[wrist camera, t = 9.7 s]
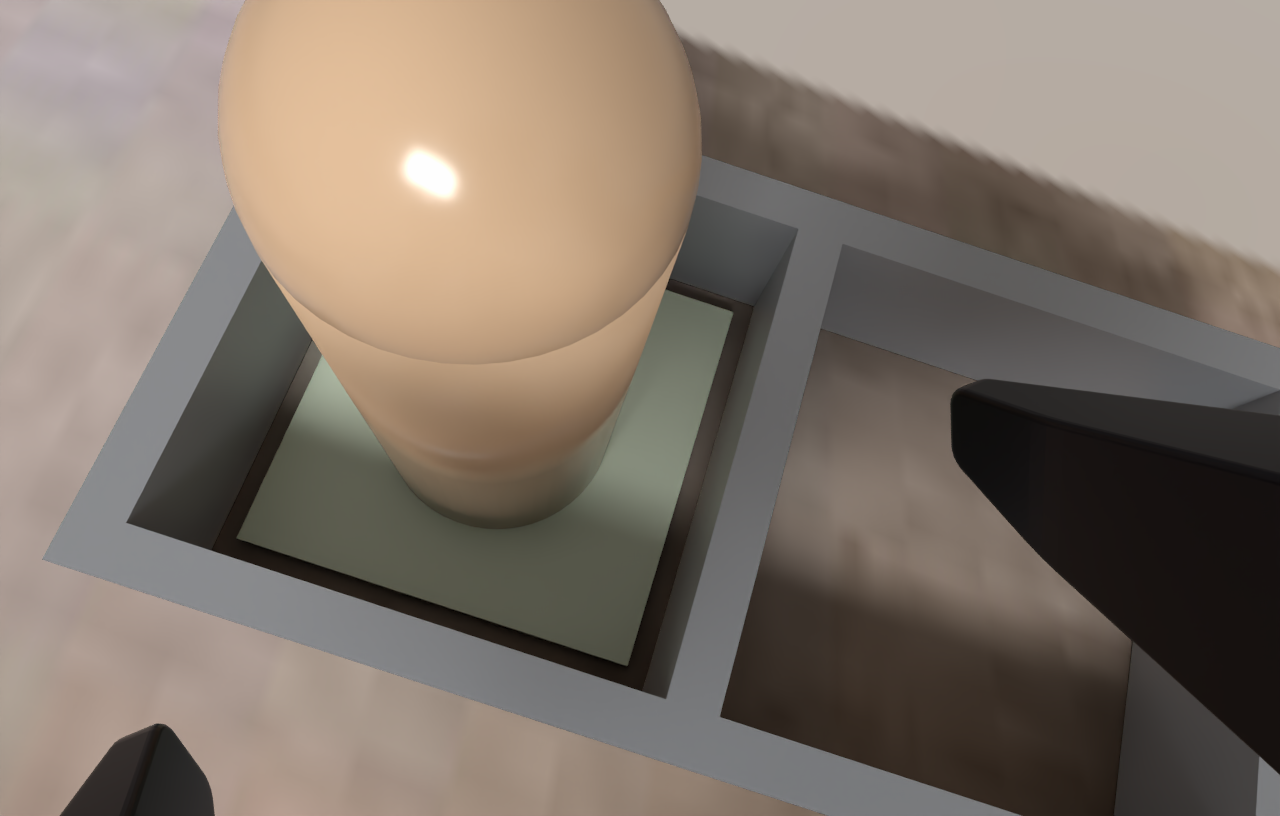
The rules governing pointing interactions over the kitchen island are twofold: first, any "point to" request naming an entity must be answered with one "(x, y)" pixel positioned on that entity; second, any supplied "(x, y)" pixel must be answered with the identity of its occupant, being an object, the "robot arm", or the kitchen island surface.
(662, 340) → the carton frame
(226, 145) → the beige rounded cylinder
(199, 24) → the kitchen island surface
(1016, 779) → the kitchen island surface
